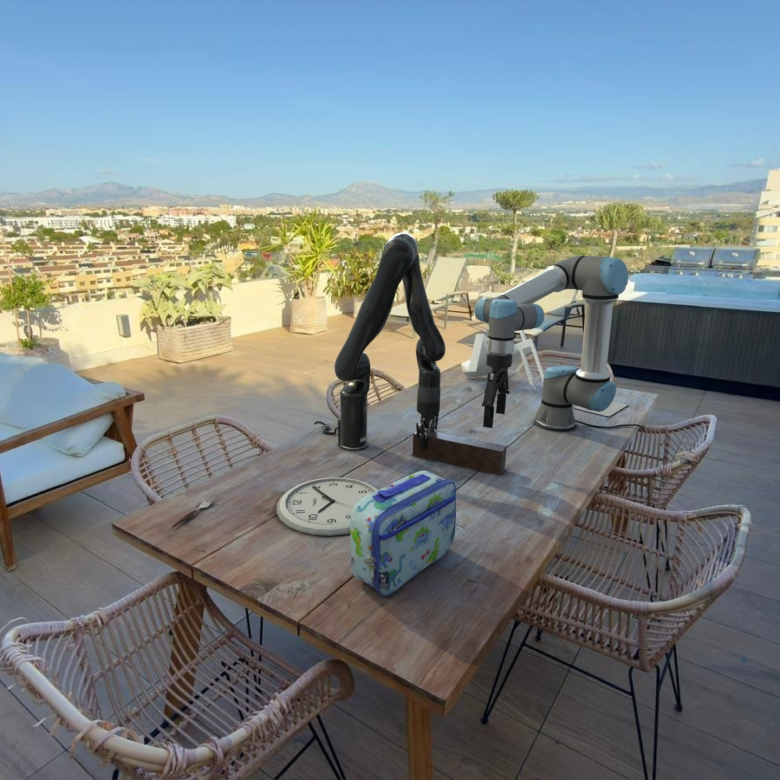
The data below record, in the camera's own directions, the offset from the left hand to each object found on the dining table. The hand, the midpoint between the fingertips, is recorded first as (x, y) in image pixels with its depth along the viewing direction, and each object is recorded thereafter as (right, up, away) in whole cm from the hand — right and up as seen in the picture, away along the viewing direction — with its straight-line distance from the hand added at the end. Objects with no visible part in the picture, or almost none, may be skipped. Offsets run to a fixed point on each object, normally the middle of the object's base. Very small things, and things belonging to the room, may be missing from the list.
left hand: (426, 446), depth 174 cm
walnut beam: (+10, -5, -4) cm, 12 cm away
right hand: (+20, +9, -13) cm, 26 cm away
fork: (-64, -14, -37) cm, 75 cm away
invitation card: (+79, +11, +52) cm, 96 cm away
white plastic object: (+42, +21, +82) cm, 95 cm away
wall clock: (-28, -13, -31) cm, 44 cm away
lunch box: (-9, -21, -57) cm, 62 cm away
